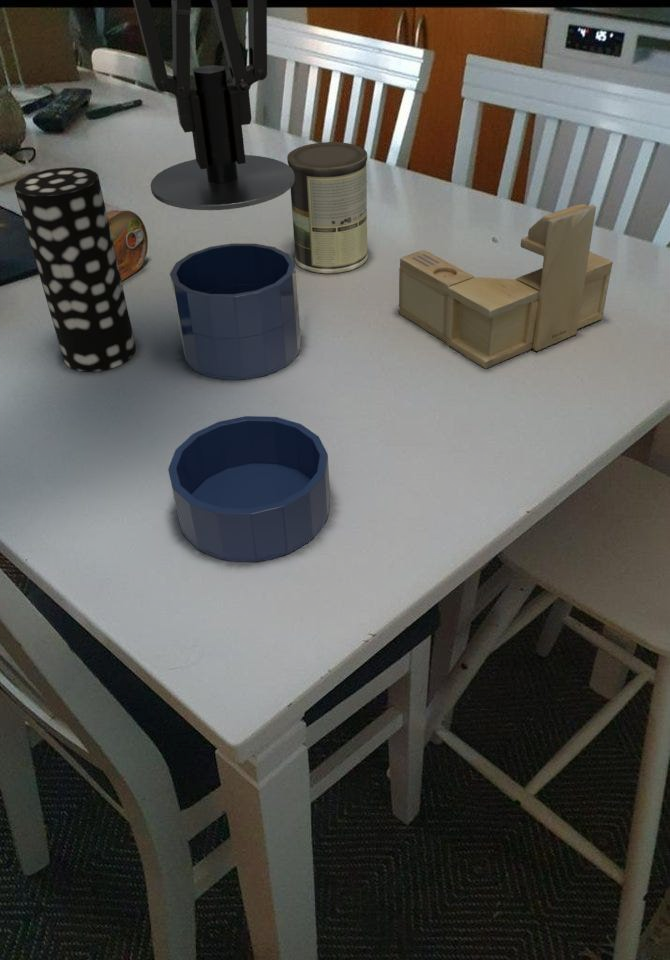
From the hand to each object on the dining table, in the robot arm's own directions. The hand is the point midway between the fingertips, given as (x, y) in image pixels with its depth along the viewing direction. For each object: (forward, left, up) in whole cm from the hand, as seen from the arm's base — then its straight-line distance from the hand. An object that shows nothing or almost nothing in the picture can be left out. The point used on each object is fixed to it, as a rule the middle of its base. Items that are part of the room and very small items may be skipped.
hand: (220, 161), depth 80 cm
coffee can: (+17, +21, -22) cm, 35 cm away
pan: (-5, -27, -22) cm, 35 cm away
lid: (0, 0, -2) cm, 2 cm away
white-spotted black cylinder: (-16, +6, -22) cm, 28 cm away
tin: (-13, +25, -22) cm, 35 cm away
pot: (0, +1, -22) cm, 22 cm away
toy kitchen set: (+31, -3, -22) cm, 38 cm away
